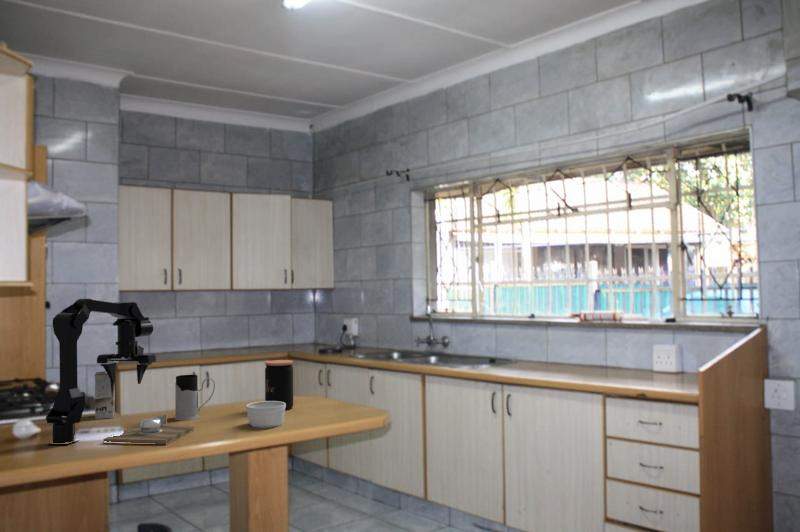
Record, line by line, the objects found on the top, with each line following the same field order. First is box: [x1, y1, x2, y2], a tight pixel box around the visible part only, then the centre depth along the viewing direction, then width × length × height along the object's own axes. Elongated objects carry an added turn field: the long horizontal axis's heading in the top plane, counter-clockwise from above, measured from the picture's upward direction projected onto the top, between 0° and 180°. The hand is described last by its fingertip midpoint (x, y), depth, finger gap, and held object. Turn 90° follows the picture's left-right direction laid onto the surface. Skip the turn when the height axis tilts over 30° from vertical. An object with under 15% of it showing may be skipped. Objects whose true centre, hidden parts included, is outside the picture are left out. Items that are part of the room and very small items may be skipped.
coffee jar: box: [264, 359, 294, 411], centre depth 263 cm, size 11×11×18 cm
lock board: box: [103, 424, 195, 444], centre depth 218 cm, size 20×20×2 cm
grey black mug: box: [173, 374, 216, 421], centre depth 249 cm, size 9×14×15 cm, turn 113°
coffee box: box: [94, 370, 116, 420], centre depth 252 cm, size 9×6×16 cm
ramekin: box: [245, 400, 286, 429], centre depth 235 cm, size 13×13×7 cm
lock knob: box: [139, 413, 168, 433], centre depth 221 cm, size 12×6×3 cm, turn 173°
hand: (126, 383), depth 236 cm, fingers open, 9 cm apart
